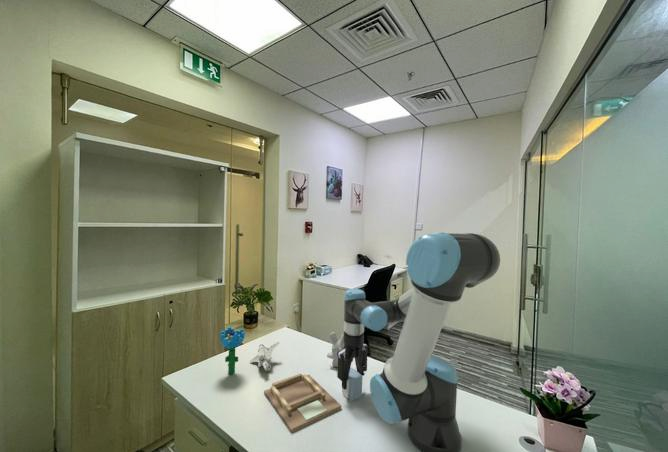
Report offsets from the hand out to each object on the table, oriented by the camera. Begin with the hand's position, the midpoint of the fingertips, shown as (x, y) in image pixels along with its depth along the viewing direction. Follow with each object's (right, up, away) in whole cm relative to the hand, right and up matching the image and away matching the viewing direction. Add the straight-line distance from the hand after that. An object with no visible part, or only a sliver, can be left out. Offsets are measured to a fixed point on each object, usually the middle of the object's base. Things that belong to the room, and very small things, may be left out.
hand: (351, 393), depth 100 cm
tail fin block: (0, 0, 0) cm, 0 cm away
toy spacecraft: (-30, +9, +17) cm, 35 cm away
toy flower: (-49, +1, +11) cm, 51 cm away
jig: (-18, 0, -4) cm, 19 cm away
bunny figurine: (-5, 0, +19) cm, 19 cm away
